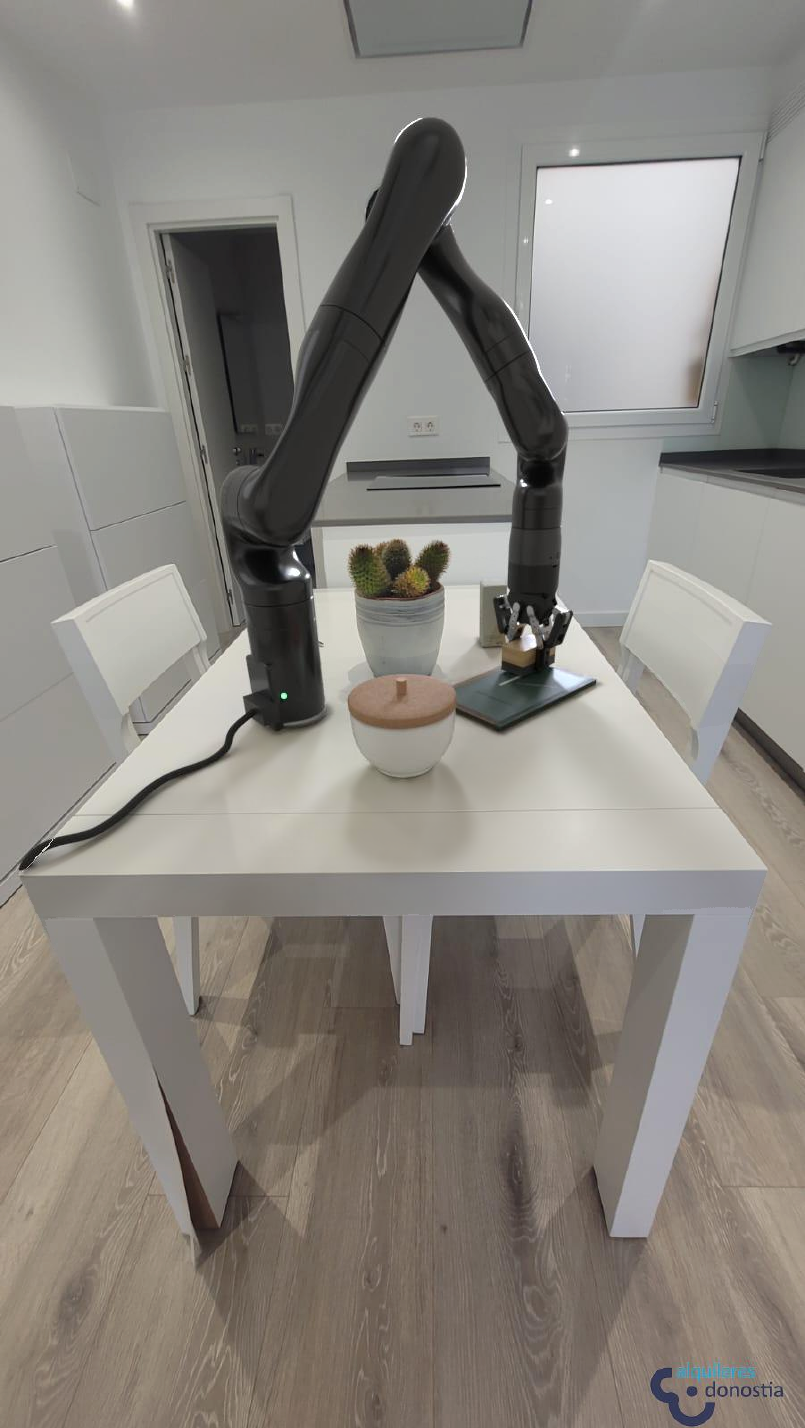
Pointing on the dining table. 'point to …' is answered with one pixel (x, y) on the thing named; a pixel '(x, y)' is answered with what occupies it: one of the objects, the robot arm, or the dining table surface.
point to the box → (490, 612)
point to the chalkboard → (515, 694)
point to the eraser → (522, 656)
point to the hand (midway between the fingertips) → (527, 664)
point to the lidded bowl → (403, 722)
